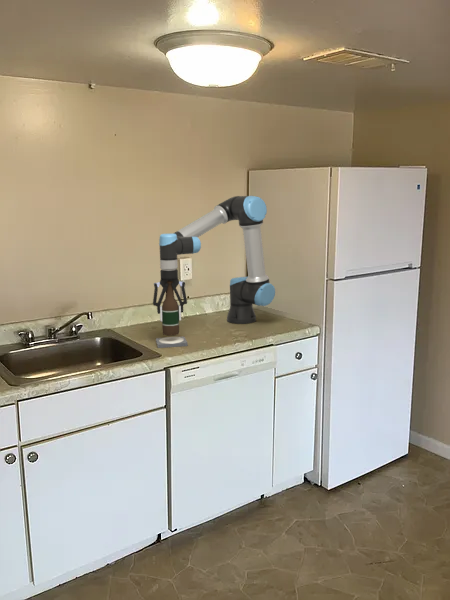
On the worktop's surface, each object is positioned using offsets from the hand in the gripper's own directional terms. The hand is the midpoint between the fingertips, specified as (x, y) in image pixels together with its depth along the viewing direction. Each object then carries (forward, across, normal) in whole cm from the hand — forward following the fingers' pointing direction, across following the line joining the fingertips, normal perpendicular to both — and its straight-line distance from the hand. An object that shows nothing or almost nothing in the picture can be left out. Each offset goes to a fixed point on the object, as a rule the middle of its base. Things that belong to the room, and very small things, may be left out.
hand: (170, 320), depth 247 cm
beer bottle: (+6, 0, 0) cm, 6 cm away
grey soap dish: (+11, 0, 0) cm, 11 cm away
